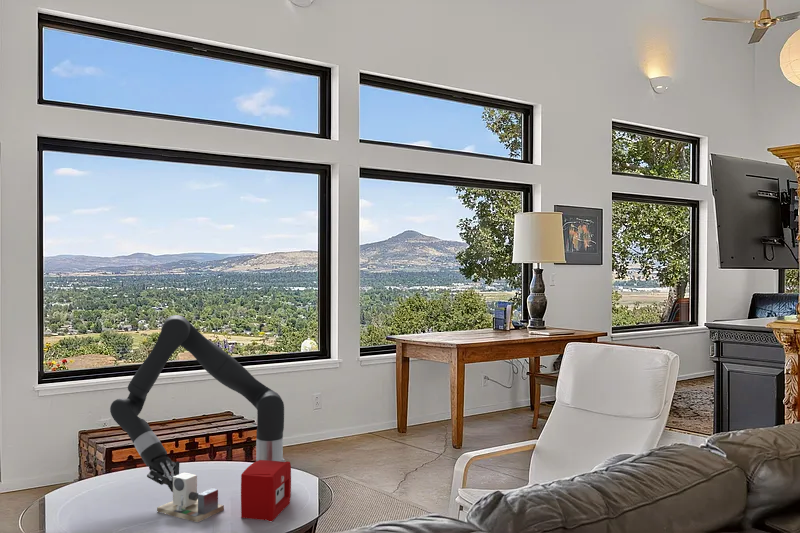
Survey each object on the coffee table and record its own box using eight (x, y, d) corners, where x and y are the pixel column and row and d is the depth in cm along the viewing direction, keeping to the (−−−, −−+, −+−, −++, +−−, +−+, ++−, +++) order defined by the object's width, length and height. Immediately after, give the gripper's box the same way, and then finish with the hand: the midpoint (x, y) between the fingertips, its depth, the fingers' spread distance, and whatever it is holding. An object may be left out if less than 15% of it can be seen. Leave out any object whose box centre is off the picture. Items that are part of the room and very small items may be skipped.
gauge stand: (157, 512, 238) (157, 506, 238) (184, 500, 249) (184, 495, 249) (197, 522, 230) (197, 516, 230) (223, 509, 241) (223, 504, 241)
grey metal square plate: (197, 513, 234) (197, 494, 234) (211, 506, 240) (212, 488, 239) (203, 514, 233) (204, 495, 233) (217, 508, 238) (218, 489, 238)
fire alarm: (273, 522, 232) (273, 474, 231) (240, 518, 234) (241, 471, 233) (291, 503, 248) (291, 459, 247) (260, 501, 250) (260, 456, 249)
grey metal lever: (178, 510, 235) (178, 496, 234) (182, 508, 236) (183, 494, 236) (181, 511, 234) (181, 496, 234) (185, 509, 236) (185, 494, 236)
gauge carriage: (165, 507, 237) (165, 479, 237) (184, 499, 244) (184, 472, 244) (183, 511, 233) (183, 483, 233) (201, 503, 241) (201, 476, 240)
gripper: (140, 446, 240) (168, 491, 235) (170, 437, 252) (198, 479, 247) (128, 460, 243) (156, 504, 238) (159, 450, 255) (186, 492, 249)
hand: (177, 491), depth 242 cm, fingers closed
